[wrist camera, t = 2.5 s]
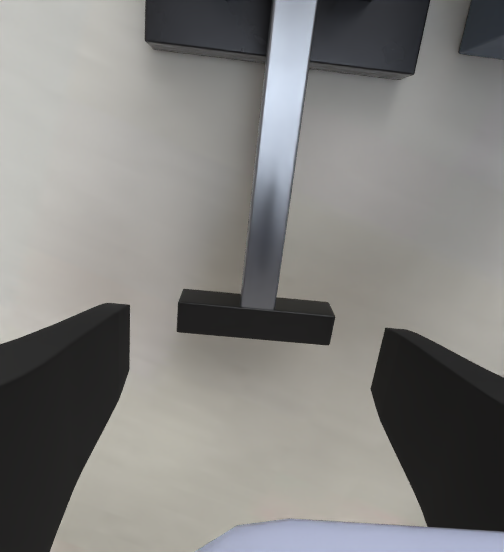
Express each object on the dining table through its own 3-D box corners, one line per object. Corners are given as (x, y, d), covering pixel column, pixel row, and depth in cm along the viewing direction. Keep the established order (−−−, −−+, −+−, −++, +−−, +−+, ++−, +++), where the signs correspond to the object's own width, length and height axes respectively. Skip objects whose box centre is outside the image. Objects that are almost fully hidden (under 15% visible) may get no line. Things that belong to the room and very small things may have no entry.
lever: (320, 321, 15) (334, 357, 12) (184, 308, 14) (172, 343, 12) (417, -188, 10) (468, -282, 7) (211, -221, 9) (200, -329, 7)
